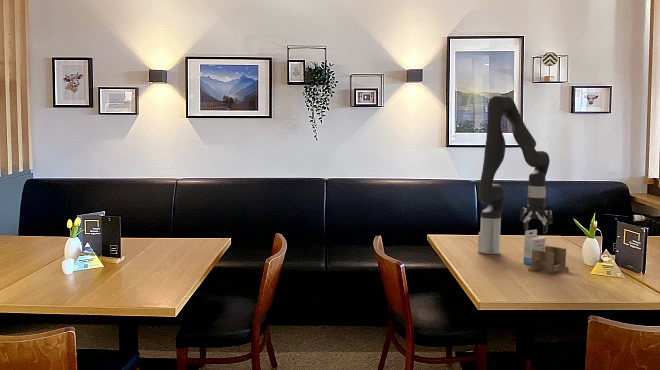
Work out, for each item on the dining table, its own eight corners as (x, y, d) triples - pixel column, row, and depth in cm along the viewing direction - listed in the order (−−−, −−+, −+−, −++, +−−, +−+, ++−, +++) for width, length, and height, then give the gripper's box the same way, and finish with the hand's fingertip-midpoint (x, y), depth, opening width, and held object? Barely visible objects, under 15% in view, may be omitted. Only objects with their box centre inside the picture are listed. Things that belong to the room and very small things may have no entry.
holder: (528, 270, 256) (529, 249, 255) (543, 264, 266) (544, 244, 265) (553, 275, 248) (554, 254, 247) (568, 269, 259) (569, 248, 258)
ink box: (532, 265, 265) (533, 232, 263) (523, 263, 269) (524, 230, 267) (544, 263, 269) (546, 230, 268) (535, 260, 273) (536, 229, 272)
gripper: (517, 195, 268) (516, 231, 270) (548, 198, 258) (547, 235, 260) (525, 194, 273) (524, 229, 275) (555, 196, 263) (554, 233, 265)
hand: (535, 232), depth 267 cm, fingers open, 8 cm apart
